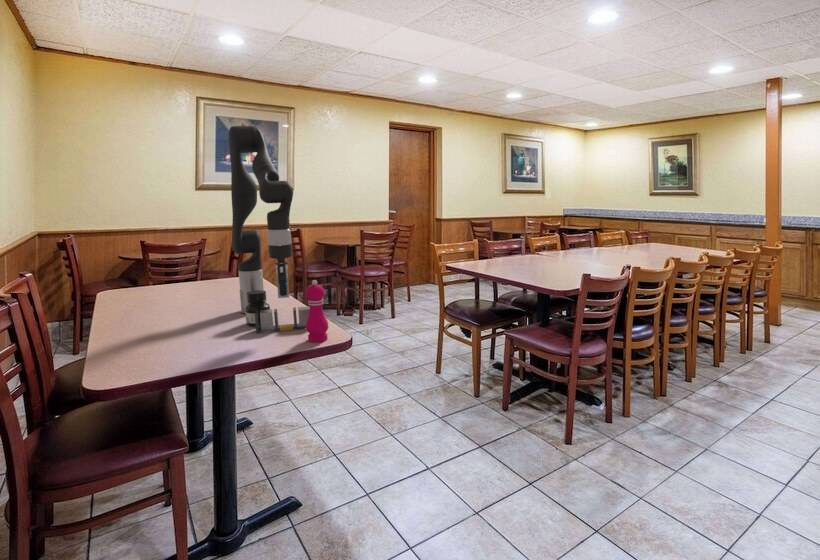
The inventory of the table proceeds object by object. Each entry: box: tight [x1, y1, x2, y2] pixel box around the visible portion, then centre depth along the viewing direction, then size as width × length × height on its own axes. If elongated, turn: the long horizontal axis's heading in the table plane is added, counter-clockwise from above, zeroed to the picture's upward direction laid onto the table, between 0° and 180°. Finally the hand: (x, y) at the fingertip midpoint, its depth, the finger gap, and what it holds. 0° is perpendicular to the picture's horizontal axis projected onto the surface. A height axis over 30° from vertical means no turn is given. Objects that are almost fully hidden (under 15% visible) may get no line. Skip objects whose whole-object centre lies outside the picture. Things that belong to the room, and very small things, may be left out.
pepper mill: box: [305, 279, 329, 343], centre depth 159 cm, size 7×7×20 cm
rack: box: [255, 305, 310, 334], centre depth 174 cm, size 20×5×7 cm, turn 104°
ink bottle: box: [244, 290, 271, 327], centre depth 182 cm, size 10×9×12 cm
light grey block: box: [276, 273, 290, 299], centre depth 164 cm, size 4×5×7 cm
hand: (283, 293), depth 164 cm, fingers closed on light grey block, 4 cm apart
